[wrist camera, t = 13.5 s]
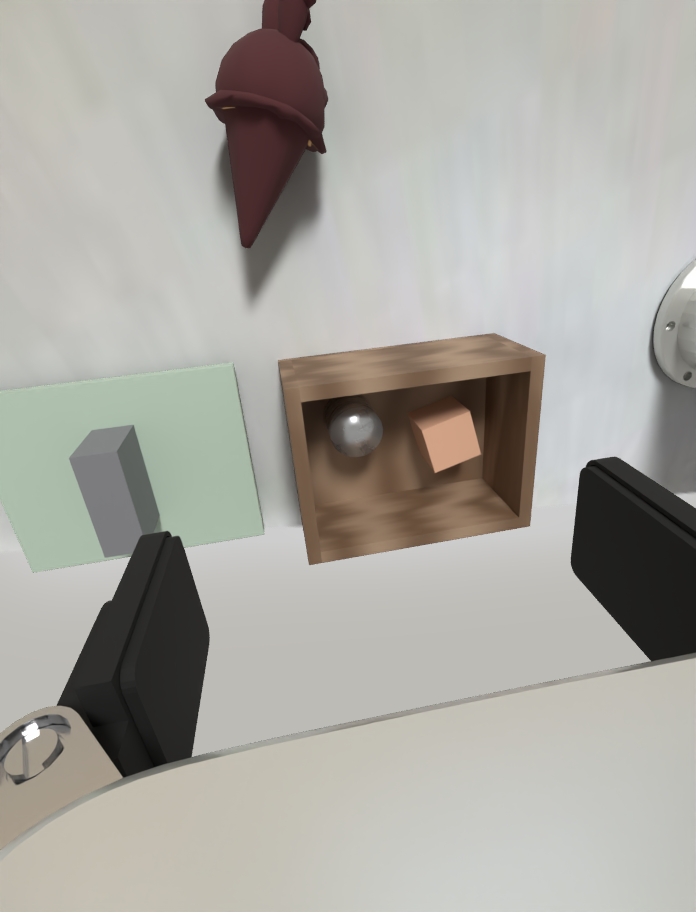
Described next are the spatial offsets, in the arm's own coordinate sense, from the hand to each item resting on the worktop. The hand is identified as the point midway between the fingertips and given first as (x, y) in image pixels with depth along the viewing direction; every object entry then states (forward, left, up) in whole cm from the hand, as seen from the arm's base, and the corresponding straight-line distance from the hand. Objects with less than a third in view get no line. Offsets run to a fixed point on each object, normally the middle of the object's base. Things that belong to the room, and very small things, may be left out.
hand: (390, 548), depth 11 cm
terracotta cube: (-11, +9, -28) cm, 32 cm away
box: (-7, +9, -29) cm, 32 cm away
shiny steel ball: (-3, +7, -28) cm, 30 cm away
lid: (+15, +9, -29) cm, 34 cm away
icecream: (0, -13, -30) cm, 32 cm away
